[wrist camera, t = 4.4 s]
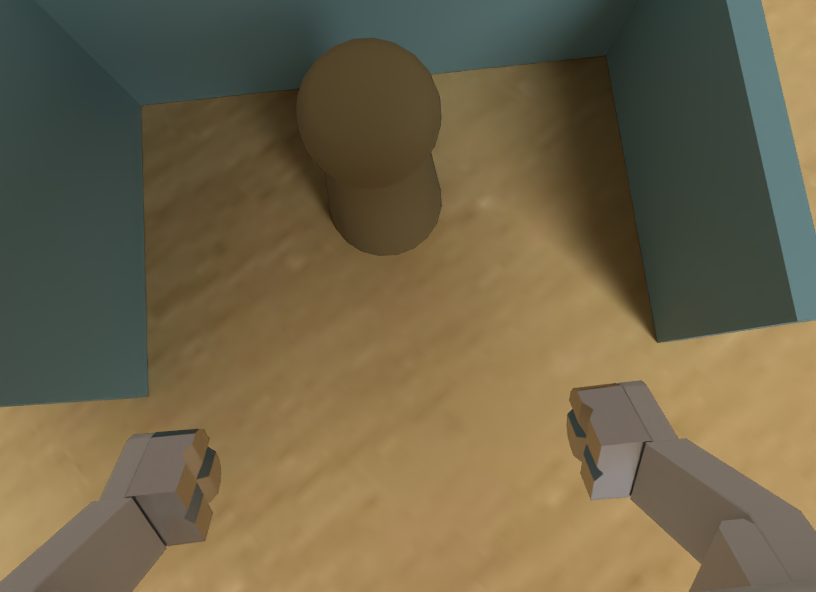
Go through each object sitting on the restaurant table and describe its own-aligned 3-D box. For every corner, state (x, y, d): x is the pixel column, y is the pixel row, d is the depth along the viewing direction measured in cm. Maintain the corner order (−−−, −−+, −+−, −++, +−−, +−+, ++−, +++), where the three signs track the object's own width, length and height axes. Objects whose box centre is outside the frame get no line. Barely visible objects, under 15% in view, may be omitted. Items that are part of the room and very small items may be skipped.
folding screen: (681, 340, 27) (835, 317, 17) (124, 398, 27) (-47, 410, 17) (624, 33, 29) (727, -142, 20) (119, 87, 29) (-32, -59, 20)
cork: (309, 181, 28) (241, 59, 18) (405, 128, 29) (398, -24, 18) (363, 276, 28) (327, 209, 17) (462, 220, 28) (491, 119, 17)
